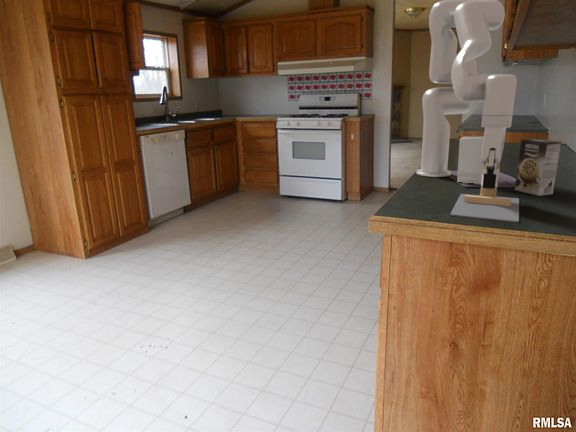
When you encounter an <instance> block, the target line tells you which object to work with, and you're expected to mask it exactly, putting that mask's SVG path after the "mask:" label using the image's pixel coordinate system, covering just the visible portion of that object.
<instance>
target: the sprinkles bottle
mask: <svg viewBox="0 0 576 432" xmlns="http://www.w3.org/2000/svg"><path fill="white" fill-rule="evenodd" d="M501 158H502V156H501ZM495 162H496V161H494V163H495ZM488 163H489V161H488ZM485 167H486V161H485V162H484V165H483V172H482V180H481V184H480V193H479V195H480V196H482V197H498V195H497V192H498V191H497V190H498V186H499V178H500V170H501V169H500V167H501V162H500V163H498V164H497V166H496V174H497V175H496V183H495V188H494V189H491V188H483V178H484V174H485ZM493 174H494V173H493Z"/></svg>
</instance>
